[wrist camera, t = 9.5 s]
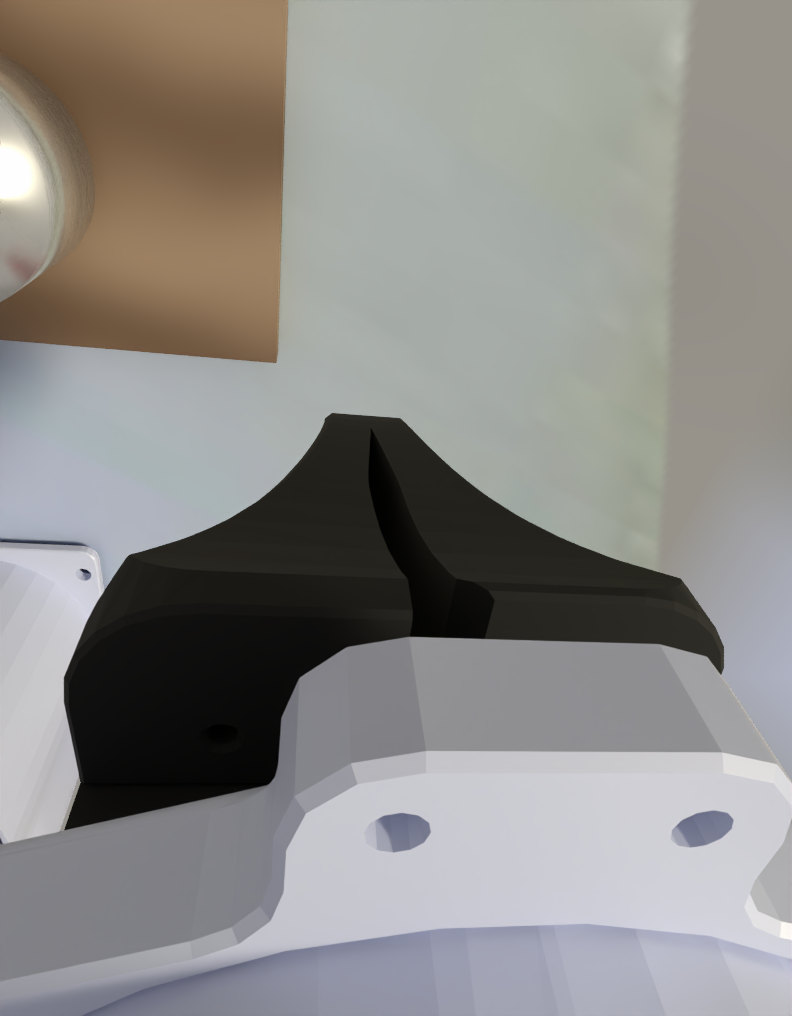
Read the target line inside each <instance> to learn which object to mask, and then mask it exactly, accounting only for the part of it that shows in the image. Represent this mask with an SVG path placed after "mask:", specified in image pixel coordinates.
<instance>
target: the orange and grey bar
mask: <svg viewBox="0 0 792 1016" xmlns="http://www.w3.org/2000/svg"><path fill="white" fill-rule="evenodd" d="M94 202H95V178H94V172H93V166H92V162H91V158H90V155H89V151H88V148H87V146H86V143H85V141H84V139H83V136H82V134H81V132H80V130H79V128H78V126H77V124H76V123H75V121H74V119H73V117H72V116H71V114H70V113H69V112H68V110H67V109H66V107H65V106H64V104H63V103H62V102H61V101H60V99H59V98H58V97H57V96H56V95H55V93H54V92H53V91H52V90H51V89H50V88H49V87H48V86H47V85H46V84H45V83H44V82H43V81H42V80H41V79H40V78H39V77H37V76H36V75H35V74H34V73H32V72H31V71H30V70H29V69H27V68H26V67H25V66H23V65H22V64H20V63H18V62H17V61H15V60H14V59H12V58H11V57H9V56H7V55H5V54H3V53H1V52H0V302H1V301H3V300H5V299H6V298H8V297H10V296H11V295H13V294H14V293H16V292H17V291H19V290H20V289H21V288H23V287H24V286H26V285H27V284H28V283H30V282H31V281H33V280H34V279H35V278H37V277H38V276H40V275H41V274H43V273H44V272H45V271H47V270H48V269H50V268H51V267H52V266H54V265H55V264H57V263H58V262H59V261H61V260H62V259H64V258H65V257H66V256H67V255H68V254H70V253H71V252H72V251H73V250H74V249H75V248H76V246H77V245H78V244H79V243H80V241H81V240H82V238H83V236H84V235H85V233H86V231H87V229H88V226H89V224H90V221H91V218H92V214H93V210H94Z"/></svg>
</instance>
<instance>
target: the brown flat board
mask: <svg viewBox="0 0 792 1016" xmlns="http://www.w3.org/2000/svg"><path fill="white" fill-rule="evenodd" d="M287 20H288V0H0V52H1V53H3V54H5V55H7V56H9V57H11V58H12V59H14V60H15V61H17V62H18V63H20V64H22V65H23V66H25V67H26V68H27V69H29V70H30V71H31V72H32V73H34V74H35V75H36V76H37V77H39V78H40V79H41V80H42V81H43V82H44V83H45V84H46V85H47V86H48V87H49V88H50V89H51V90H52V91H53V92H54V93H55V95H56V96H57V97H58V98H59V99H60V101H61V102H62V103H63V104H64V106H65V107H66V109H67V110H68V112H69V113H70V114H71V116H72V117H73V119H74V121H75V123H76V124H77V126H78V128H79V130H80V132H81V134H82V136H83V139H84V141H85V143H86V146H87V148H88V151H89V155H90V158H91V162H92V166H93V172H94V178H95V202H94V210H93V214H92V218H91V221H90V224H89V226H88V229H87V231H86V233H85V235H84V236H83V238H82V240H81V241H80V243H79V244H78V245H77V246H76V248H75V249H74V250H73V251H72V252H71V253H70V254H68V255H67V256H66V257H65V258H64V259H62V260H61V261H59V262H58V263H57V264H55V265H54V266H52V267H51V268H50V269H48V270H47V271H45V272H44V273H43V274H41V275H40V276H38V277H37V278H35V279H34V280H33V281H31V282H30V283H28V284H27V285H26V286H24V287H23V288H21V289H20V290H19V291H17V292H16V293H14V294H13V295H11V296H10V297H8V298H6V299H5V300H3V301H1V302H0V340H10V341H22V342H34V343H46V344H57V345H69V346H81V347H93V348H105V349H117V350H128V351H140V352H152V353H164V354H176V355H188V356H200V357H211V358H223V359H235V360H247V361H259V362H271V363H276V361H277V355H278V330H279V296H280V261H281V227H282V192H283V158H284V124H285V89H286V55H287Z"/></svg>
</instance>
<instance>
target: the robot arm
mask: <svg viewBox="0 0 792 1016" xmlns="http://www.w3.org/2000/svg"><path fill="white" fill-rule="evenodd" d="M80 569H86V570H88V571H89V572H90V573H88V574H87V573H83V572H82V571H81V570H80ZM723 669H724V646H723V644H722V642H721V639H720V637H719V635H718V632H717V630H716V628H715V626H714V625H713V624H712V622H711V621H710V619H709V618H708V616H707V615H706V613H705V612H704V611H703V609H702V608H701V606H700V605H699V603H698V602H697V601H696V599H695V598H694V596H693V595H692V594H691V592H690V591H689V589H688V588H687V586H686V585H685V584H684V583H683V581H682V580H681V579H680V578H677V577H673V576H670V575H666V574H663V573H660V572H656V571H653V570H649V569H646V568H642V567H639V566H636V565H632V564H629V563H625V562H622V561H619V560H616V559H613V558H610V557H607V556H605V555H602V554H600V553H597V552H594V551H592V550H589V549H586V548H584V547H581V546H579V545H576V544H574V543H572V542H569V541H567V540H565V539H562V538H560V537H558V536H556V535H554V534H552V533H550V532H548V531H546V530H544V529H542V528H540V527H538V526H536V525H534V524H532V523H530V522H528V521H526V520H525V519H523V518H521V517H519V516H517V515H516V514H514V513H512V512H511V511H509V510H508V509H506V508H505V507H503V506H501V505H500V504H498V503H497V502H495V501H494V500H492V499H490V498H489V497H488V496H486V495H485V494H483V493H482V492H481V491H479V490H478V489H477V488H475V487H474V486H473V485H472V484H470V483H469V482H468V481H467V480H465V479H464V478H463V477H462V476H460V475H459V474H458V473H457V472H456V471H454V470H453V469H452V468H451V467H450V466H449V465H448V464H446V463H445V462H444V461H443V460H442V459H441V458H440V457H439V456H438V455H437V454H436V453H435V452H434V451H433V450H432V449H431V448H430V447H429V446H427V445H426V444H425V442H424V441H423V440H422V439H421V438H420V437H419V436H418V435H417V434H416V433H415V432H414V431H413V430H412V429H411V428H410V427H409V426H408V425H407V424H406V423H405V422H404V421H403V420H401V419H400V418H390V417H376V416H363V415H350V414H336V413H331V414H330V415H329V416H328V417H326V418H325V422H324V425H323V427H322V429H321V431H320V433H319V435H318V436H317V438H316V440H315V441H314V443H313V444H312V445H311V447H310V448H309V450H308V451H307V452H306V454H305V455H304V456H303V458H302V459H301V460H300V461H299V462H298V464H297V465H296V466H295V467H294V468H293V469H292V470H291V471H290V472H289V473H288V475H287V476H286V477H285V478H284V479H283V480H282V481H281V482H280V483H279V484H278V485H276V486H275V487H274V488H273V489H272V490H271V491H270V492H269V493H267V494H266V495H265V496H264V497H262V498H261V499H260V500H259V501H257V502H256V503H254V504H253V505H251V506H249V507H248V508H246V509H244V510H243V511H241V512H240V513H238V514H236V515H235V516H233V517H231V518H230V519H228V520H226V521H224V522H222V523H220V524H218V525H215V526H213V527H211V528H209V529H207V530H204V531H202V532H200V533H197V534H195V535H192V536H190V537H187V538H184V539H182V540H179V541H175V542H172V543H169V544H166V545H162V546H159V547H156V548H152V549H149V550H146V551H142V552H139V553H135V554H131V555H129V556H128V557H127V558H126V559H125V561H124V562H123V564H122V565H121V567H120V568H119V570H118V571H117V572H116V574H115V575H114V577H113V578H112V580H111V581H110V583H109V584H108V586H107V588H106V589H105V591H104V586H103V579H102V572H101V565H100V558H99V556H98V553H97V552H96V551H95V550H93V549H91V548H90V547H86V546H73V545H51V544H29V543H6V542H0V1016H792V781H791V780H790V778H789V777H788V776H787V774H786V772H785V771H784V769H783V768H782V766H781V765H780V763H779V762H778V760H777V759H776V757H775V756H774V754H773V752H772V751H771V749H770V748H769V746H768V745H767V743H766V742H765V740H764V739H763V737H762V736H761V734H760V733H759V731H758V730H757V728H756V727H755V725H754V723H753V722H752V720H751V719H750V717H749V716H748V714H747V713H746V711H745V710H744V708H743V707H742V705H741V704H740V702H739V701H738V699H737V698H736V696H735V695H734V693H733V691H732V690H731V688H730V687H729V685H728V684H727V683H726V681H725V680H724V679H723V677H722V676H721V674H722V671H723ZM78 777H79V778H80V782H81V783H80V786H79V789H78V792H77V795H76V798H75V801H74V803H73V806H72V810H71V812H70V815H69V818H68V821H67V824H66V827H65V830H64V831H60V828H61V826H62V823H63V820H64V817H65V814H66V812H67V809H68V806H69V803H70V800H71V797H72V794H73V792H74V789H75V786H76V783H77V780H78Z"/></svg>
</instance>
